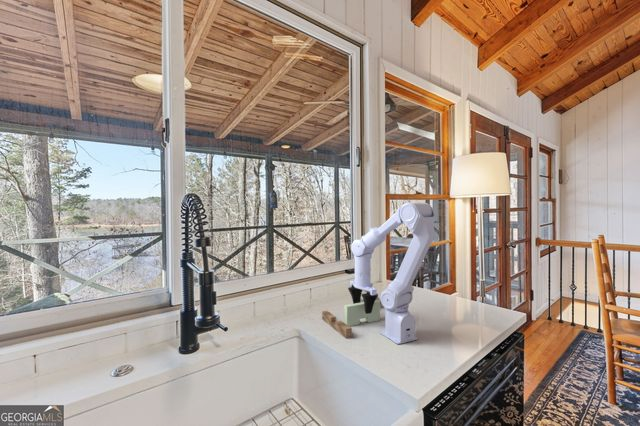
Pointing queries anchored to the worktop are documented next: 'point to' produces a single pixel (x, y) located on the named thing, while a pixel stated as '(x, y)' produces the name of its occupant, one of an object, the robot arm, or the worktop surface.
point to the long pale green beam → (360, 313)
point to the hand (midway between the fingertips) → (362, 309)
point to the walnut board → (337, 324)
